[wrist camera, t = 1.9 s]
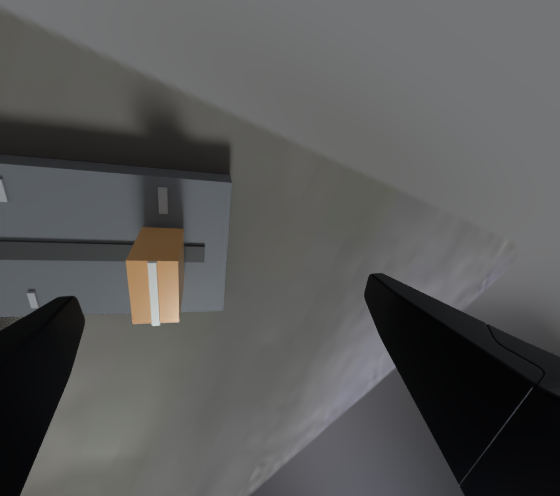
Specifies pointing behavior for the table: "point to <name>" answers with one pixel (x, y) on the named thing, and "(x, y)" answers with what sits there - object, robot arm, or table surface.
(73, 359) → the robot arm
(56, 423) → the table surface
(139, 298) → the fader knob
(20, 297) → the fader panel
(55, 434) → the table surface
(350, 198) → the table surface
